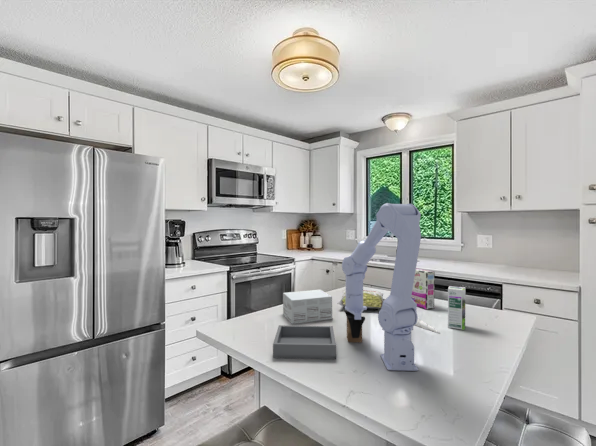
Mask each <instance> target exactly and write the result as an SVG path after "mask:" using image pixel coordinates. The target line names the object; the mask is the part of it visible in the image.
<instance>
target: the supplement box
mask: <svg viewBox="0 0 596 446" xmlns="http://www.w3.org/2000/svg"><path fill="white" fill-rule="evenodd" d="M282 314H283V316H284V317H285V318H286V319H287V320H288V321H289V322H290V323H291V324H292V325H293V324H300V323H301V324H302V323H309V322H318V321H328V320H333V296H332V295H331V294H329V293H327V292H325V291H324V290H323V289H320V288H319V289H312V290H300V291H289V292H288V291H287V292H283V293H282Z"/></svg>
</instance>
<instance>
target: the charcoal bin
mask: <svg viewBox="0 0 596 446" xmlns="http://www.w3.org/2000/svg"><path fill="white" fill-rule="evenodd" d="M333 327H334V326H333V325H285V324H284V325H281V324H280V325H278V327H277V331H276V334H275V337H274V340H273V343H272V358H273V359H306V360H308V359H311V360H313V359H314V360H315V359H316V360H318V359H319V360H336V359H337V344H336V343H337V342H336V337H335V332H334V331H335V330H334V328H333Z"/></svg>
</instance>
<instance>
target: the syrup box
mask: <svg viewBox="0 0 596 446" xmlns="http://www.w3.org/2000/svg"><path fill="white" fill-rule="evenodd" d="M447 328H448V329H453V330H454V329H456V330H462V331H465V330H466V287H465V286H464V287H462V286H452V285H449V286H448V288H447Z"/></svg>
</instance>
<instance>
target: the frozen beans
mask: <svg viewBox="0 0 596 446" xmlns="http://www.w3.org/2000/svg"><path fill="white" fill-rule="evenodd" d="M383 297H384V293H382V292H379V291H377V290H375V291H374V290H364V289H363V306H366V307H367V309H376V310H381V308H382V304H383V302H384V300H383ZM337 305H340V306H342V307H345V306H346V289H342V296H341V299H340V301H338V303H337Z"/></svg>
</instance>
